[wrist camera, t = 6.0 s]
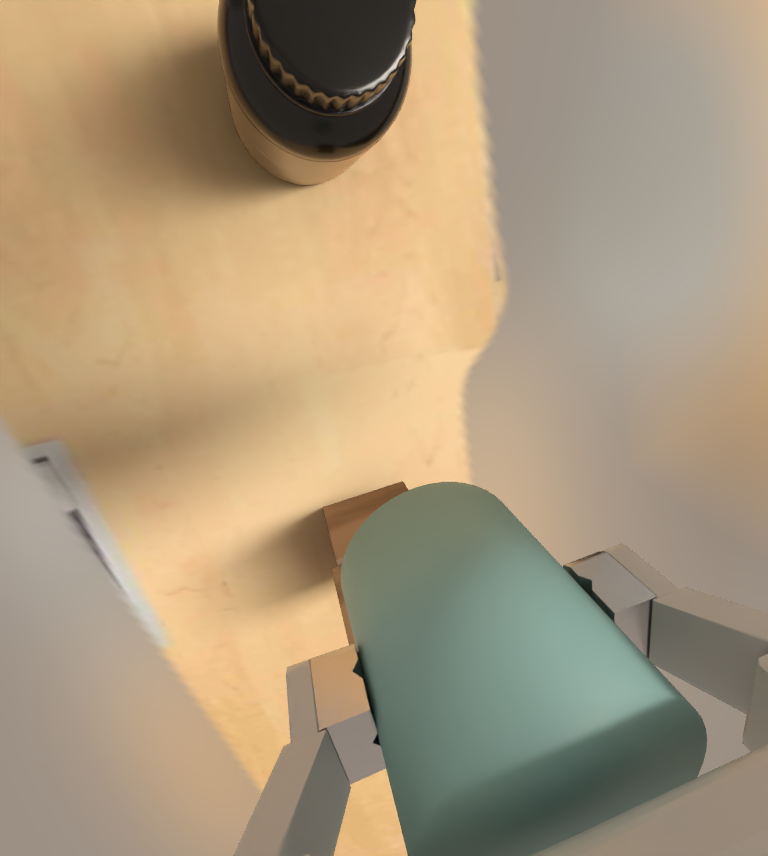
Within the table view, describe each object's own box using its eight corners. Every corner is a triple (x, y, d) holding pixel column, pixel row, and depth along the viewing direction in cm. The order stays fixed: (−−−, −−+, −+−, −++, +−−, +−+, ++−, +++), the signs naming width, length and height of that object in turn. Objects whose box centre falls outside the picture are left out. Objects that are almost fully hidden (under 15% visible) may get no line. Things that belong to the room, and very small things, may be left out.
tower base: (322, 507, 33) (336, 560, 27) (402, 481, 33) (431, 527, 28) (343, 571, 35) (359, 632, 30) (417, 545, 36) (445, 600, 31)
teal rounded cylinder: (318, 519, 11) (379, 788, 6) (508, 457, 12) (723, 643, 6) (364, 660, 13) (440, 953, 8) (523, 600, 14) (692, 830, 8)
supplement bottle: (389, 134, 25) (491, 55, 14) (290, 213, 25) (316, 194, 14) (310, -8, 22) (362, -244, 11) (197, 83, 22) (143, -64, 11)
